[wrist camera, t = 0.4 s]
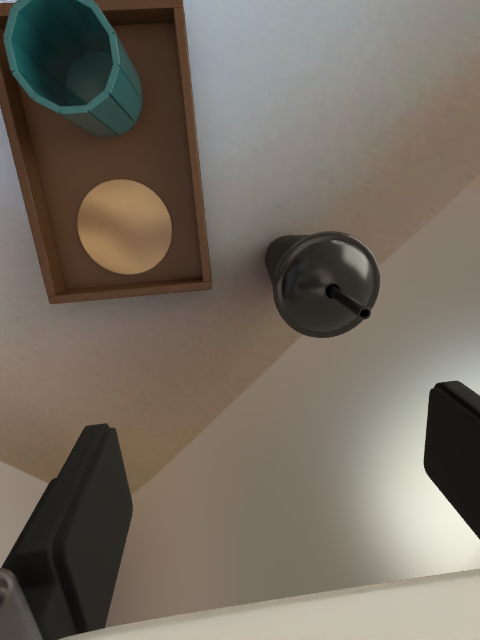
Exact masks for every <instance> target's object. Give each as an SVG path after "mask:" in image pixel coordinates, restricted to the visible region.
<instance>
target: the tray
mask: <svg viewBox="0 0 480 640" xmlns="http://www.w3.org/2000/svg"><path fill="white" fill-rule="evenodd" d="M93 1H94V2H95V3H96V4H97V5H98V7H99V8H100V10H101V11H102V13H103V14H104V16H105V17H106V19H107V20H108V22H109V23H110V25H111V26H112V28H113V29H114V31H115V33H116V35H117V37H118V38H119V40H120V42H121V44H122V46H123V48H124V50H125V51H126V53H127V55H128V57H129V59H130V61H131V63H132V64H133V66H134V68H135V70H136V72H137V74H138V76H139V78H140V82H141V86H142V91H143V107H142V111H141V115H140V117H139V119H138V121H137V122H136V124H135V125H134V126H133V128H131V129H130V130H129V131H128V132H126V133H125V134H123V135H121V136H118V137H113V138H103V137H97V136H95V135H93V134H90V133H89V132H87V131H85V130H83V129H81V128H79V127H77V126H75V125H74V124H72V123H70V122H69V121H67V120H65V119H64V118H62V117H60V116H58V115H57V114H55V113H53V112H52V111H50V110H48V109H47V108H45V107H43V106H42V105H40V104H38V103H36V102H35V101H33V99H31V98H30V97H29V95H28V94H27V93H26V91H25V90H24V89H23V87H22V86H21V85H20V84H19V82H18V81H17V80H16V78H15V77H14V76H13V74H12V73H13V72H11V70H10V66H9V62H8V58H7V53H6V49H5V45H4V41H3V39H5V38H4V37H3V35H4V31H5V28H6V24H7V20H8V16H9V12H10V8H11V7H12V8H13V6H12V5H13V4H14V3H0V106H1V110H2V114H3V118H4V122H5V126H6V130H7V134H8V138H9V142H10V146H11V150H12V154H13V158H14V162H15V166H16V170H17V174H18V178H19V183H20V187H21V191H22V195H23V199H24V203H25V207H26V211H27V215H28V219H29V223H30V227H31V231H32V235H33V239H34V243H35V247H36V251H37V255H38V259H39V263H40V267H41V271H42V275H43V279H44V283H45V287H46V291H47V295H48V299H49V303H50V304H59V303H69V302H80V301H91V300H101V299H112V298H123V297H134V296H144V295H155V294H166V293H176V292H187V291H198V290H209V289H212V280H211V271H210V261H209V251H208V241H207V231H206V222H205V212H204V202H203V192H202V182H201V172H200V163H199V153H198V143H197V133H196V123H195V114H194V104H193V94H192V84H191V74H190V65H189V55H188V45H187V35H186V25H185V15H184V7H183V0H93ZM116 179H125V180H131V181H135V182H138V183H140V184H143V185H145V186H146V187H148V188H150V189H151V190H152V191H154V192H155V193H156V194H157V195H158V196H159V197H160V199H161V200H162V201H163V203H164V204H165V206H166V208H167V210H168V212H169V214H170V217H171V222H172V240H171V244H170V247H169V249H168V251H167V253H166V255H165V256H164V258H163V259H162V260H161V261H160V262H159V263H158V264H157V265H156V266H154V267H153V268H151V269H150V270H147V271H145V272H142V273H138V274H120V273H115V272H113V271H110V270H108V269H106V268H104V267H102V266H101V265H99V264H98V263H97V262H96V261H94V260H93V259H92V258H91V257H90V255H89V254H88V253H87V251H86V250H85V248H84V246H83V245H82V242H81V240H80V237H79V233H78V227H77V219H78V212H79V209H80V206H81V204H82V202H83V200H84V198H85V197H86V195H87V194H88V193H89V192H90V191H91V190H92V189H93V188H95V187H96V186H98V185H99V184H102V183H104V182H107V181H110V180H116Z"/></svg>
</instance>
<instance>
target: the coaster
mask: <svg viewBox="0 0 480 640" xmlns="http://www.w3.org/2000/svg"><path fill="white" fill-rule="evenodd" d="M77 227H78V233H79V237H80V240H81V242H82V245H83V246H84V248H85V250H86V251H87V253H88V254H89V255H90V257H91V258H92V259H93V260H94V261H96V262H97V263H98V264H99V265H101V266H102V267H104V268H106V269H108V270H110V271H113V272H115V273H120V274H138V273H142V272H145V271H147V270H150V269H151V268H153V267H154V266H156V265H157V264H158V263H159V262H160V261H161V260H162V259H163V258H164V256H165V255H166V253H167V251H168V249H169V247H170V244H171V240H172V222H171V217H170V214H169V212H168V210H167V208H166V206H165V204H164V203H163V201H162V200H161V199H160V197H159V196H158V195H157V194H156V193H155V192H154V191H152V190H151V189H150V188H148V187H146V186H145V185H143V184H140V183H138V182H135V181H131V180H125V179H116V180H110V181H107V182H104V183H102V184H99V185H98V186H96V187H95V188H93V189H92V190H91V191H90V192H89V193H88V194H87V195H86V197H85V198H84V200H83V202H82V204H81V206H80V209H79V212H78V219H77Z"/></svg>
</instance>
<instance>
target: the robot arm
mask: <svg viewBox="0 0 480 640" xmlns="http://www.w3.org/2000/svg"><path fill="white" fill-rule="evenodd" d="M424 468H425V471H426V473H427V475H428V476H429V477H430V479H431V480H432V481H433V482H434V484H435V485H436V486H437V487H438V488H439V490H440V491H441V492H442V493H443V495H444V496H445V497H446V498H447V500H448V501H449V502H450V503H451V505H452V506H453V507H454V508H455V509H456V511H457V512H458V513H459V514H460V515H461V517H462V518H463V519H464V521H465V522H466V523H467V524H468V525H469V527H470V528H471V529H472V530H473V532H474V533H475V534H476V535H477V537H478V538H479V539H480V396H479V395H478V394H476V393H475V392H474V391H472V390H471V389H469V388H468V387H467V386H465V385H464V384H462V383H461V382H459V381H449V382H442V383H437V384H436V385H435V387H434V388H433V389H431V390H430V394H429V404H428V417H427V428H426V440H425V451H424ZM132 507H133V506H132V499H131V494H130V490H129V485H128V481H127V477H126V472H125V468H124V463H123V459H122V454H121V450H120V446H119V441H118V437H117V432H116V429H115V428H109V426H108V424H106V423H105V424H97V425H89V426H86V427H85V428H84V429H83V431H82V433H81V435H80V437H79V438H78V440H77V442H76V444H75V446H74V447H73V449H72V451H71V453H70V455H69V457H68V458H67V460H66V462H65V464H64V466H63V467H62V469H61V471H60V473H59V475H58V476H57V478H54V479H53V480H52V481H51V482H50V483H49V485H48V487H47V488H46V490H45V492H44V493H43V495H42V497H41V499H40V500H39V502H38V504H37V506H36V507H35V509H34V511H33V513H32V514H31V516H30V518H29V520H28V522H27V523H26V525H25V527H24V529H23V531H22V532H21V534H20V536H19V537H18V539H17V541H16V543H15V544H14V546H13V548H12V550H11V552H10V553H9V555H8V557H7V559H6V560H5V562H4V564H3V566H2V567H1V568H0V640H480V569H475V570H468V571H461V572H454V573H447V574H440V575H433V576H426V577H420V578H413V579H406V580H400V581H393V582H386V583H380V584H374V585H367V586H360V587H353V588H347V589H340V590H334V591H327V592H321V593H314V594H308V595H301V596H294V597H288V598H282V599H276V600H269V601H264V602H257V603H250V604H244V605H238V606H232V607H225V608H219V609H213V610H206V611H200V612H193V613H187V614H181V615H175V616H170V617H164V618H158V619H153V620H147V621H141V622H136V623H131V624H124V625H119V626H113V627H108V628H105V625H106V621H107V617H108V612H109V608H110V604H111V600H112V596H113V592H114V587H115V584H116V579H117V575H118V571H119V567H120V563H121V559H122V555H123V550H124V546H125V542H126V538H127V534H128V530H129V526H130V522H131V517H132V511H133V508H132Z"/></svg>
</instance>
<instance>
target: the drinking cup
mask: <svg viewBox="0 0 480 640" xmlns="http://www.w3.org/2000/svg"><path fill="white" fill-rule="evenodd" d="M265 264H266V268H267V270H268V273H269V276H270V279H271V282H272V285H273V296H274V301H275V304H276V307H277V310H278V312H279V313H280V315H281V317H282V318H283V319H284V321H285V322H286V323H287V324H288V325H289V326H290V327H291V328H293V329H294V330H296V331H297V332H299V333H301V334H304V335H306V336H311V337H317V338H328V337H334V336H338V335H340V334H343V333H346V332H348V331H349V330H351V329H353V328H354V327H356V326H357V325H358V324H359V323H360V322H362V320H364V319H367V318H369V316H370V314H371V309H372V308H373V306H374V304H375V301H376V299H377V296H378V292H379V286H380V274H379V268H378V265H377V262H376V259H375V257H374V255H373V254H372V252H371V251H370V249H369V248H368V247H367V246H366V245H365V244H364V243H363V242H361V241H360V240H359V239H357V238H355V237H353V236H351V235H349V234H345V233H341V232H334V231H326V232H319V233H315V234H312V235H298V236H283V237H280V238H278V239H276V240H275V241H273V242H272V243H271V245H270V246H269V247H268V249H267V252H266V255H265Z"/></svg>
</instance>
